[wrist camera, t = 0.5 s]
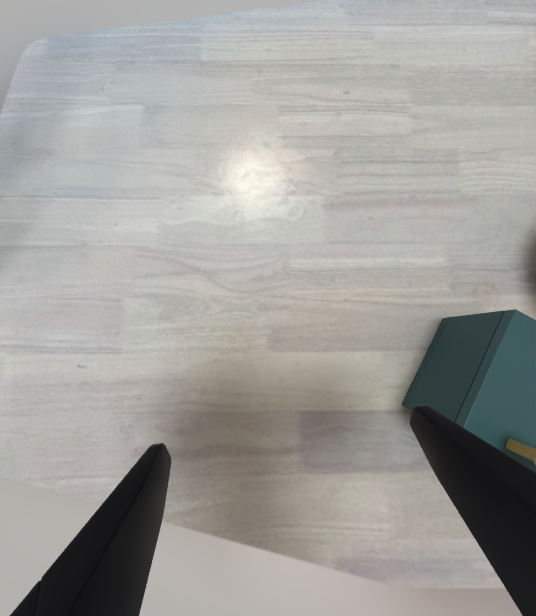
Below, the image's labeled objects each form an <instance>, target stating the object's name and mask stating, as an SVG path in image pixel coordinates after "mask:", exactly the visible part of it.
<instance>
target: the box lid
mask: <svg viewBox="0 0 536 616" xmlns="http://www.w3.org/2000/svg"><path fill="white" fill-rule="evenodd" d="M455 423H457V424H458V425H460V426H462V427H463V428H465V429H466V430H468V431H470V432H471V433H473V434H475V435H476V436H478V437H479V438H481V439H483V440H484V441H486V442H487V443H489V444H491V445H492V446H494V447H495V448H497V449H499V450H500V451H502V452H504V453H505V454H507V455H508V456H510V457H512V458H513V459H515V460H516V461H518V462H520V463H521V464H523V465H524V466H526V467H528V468H529V469H531V470H533V471H534V472H536V320H534V319H532V318H531V317H529V316H527V315H525V314H523V313H521V312H519V311H518V310H507V311H505V312H504V314H503V316H502V319H501V321H500V323H499V325H498V328H497V330H496V332H495V334H494V337H493V339H492V341H491V343H490V346H489V348H488V350H487V352H486V354H485V357H484V359H483V361H482V363H481V366H480V368H479V370H478V372H477V375H476V377H475V379H474V381H473V383H472V386H471V388H470V390H469V392H468V395H467V397H466V399H465V401H464V404H463V406H462V408H461V410H460V413H459V415H458V417H457V419H456V421H455Z"/></svg>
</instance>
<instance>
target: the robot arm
mask: <svg viewBox="0 0 536 616" xmlns="http://www.w3.org/2000/svg"><path fill="white" fill-rule="evenodd" d="M410 425H411V428H412V430H413V432H414V434H415V436H416V438H417V440H418V442H419V444H420V446H421V448H422V450H423V452H424V454H425V456H426V458H427V460H428V461H429V463H430V465H431V467H432V469H433V471H434V473H435V475H436V476H437V478H438V480H439V481H440V483H441V485H442V486H443V488H444V489H445V491H446V493H447V494H448V496H449V497H450V499H451V501H452V502H453V504H454V506H455V507H456V509H457V510H458V512H459V514H460V515H461V517H462V518H463V520H464V522H465V523H466V525H467V526H468V528H469V530H470V531H471V533H472V535H473V536H474V538H475V539H476V541H477V543H478V544H479V546H480V547H481V549H482V551H483V552H484V554H485V555H486V557H487V559H488V560H489V562H490V564H491V565H492V567H493V568H494V570H495V572H496V573H497V575H498V576H499V578H500V580H501V581H502V583H503V584H504V586H505V588H506V589H507V591H508V592H509V594H510V596H511V597H512V599H513V600H514V602H515V604H516V605H517V607H518V608H519V610H520V612H521V613H522V615H523V616H536V472H534V471H533V470H531V469H529V468H528V467H526V466H524V465H523V464H521V463H520V462H518V461H516V460H515V459H513V458H512V457H510V456H508V455H507V454H505V453H504V452H502V451H500V450H499V449H497V448H495V447H494V446H492V445H491V444H489V443H487V442H486V441H484V440H483V439H481V438H479V437H478V436H476V435H475V434H473V433H471V432H470V431H468V430H466V429H465V428H463V427H462V426H460V425H458V424H457V423H455V422H454V421H452V420H450V419H449V418H447V417H446V416H444V415H442V414H441V413H439V412H437V411H436V410H434V409H433V408H431V407H429V406H428V405H417V406H414V407H413V409H412V414H411V418H410ZM170 468H171V456H170V454H169V452H168V450H167V448H166V446H165V444H163V443H159V444H153V445H151V446H150V447H149V448H148V449H147V451H146V452H145V453H144V454H143V455H142V457H141V458H140V459H139V460H138V461H137V463H136V464H135V465H134V466H133V468H132V469H131V470H130V471H129V472H128V474H127V475H126V476H125V477H124V478H123V480H122V481H121V482H120V483H119V484H118V486H117V487H116V488H115V489H114V491H113V492H112V493H111V494H110V495H109V497H108V498H107V499H106V500H105V501H104V503H103V504H102V505H101V506H100V508H99V509H98V510H97V511H96V512H95V514H94V515H93V516H92V517H91V518H90V520H89V521H88V522H87V523H86V524H85V526H84V527H83V528H82V529H81V531H80V532H79V533H78V534H77V535H76V537H75V538H74V539H73V540H72V541H71V543H70V544H69V545H68V546H67V548H66V549H65V550H64V551H63V552H62V554H61V555H60V556H59V557H58V559H57V560H56V561H55V562H54V563H53V565H52V566H51V567H50V568H49V570H48V571H47V572H46V573H45V574H44V576H43V577H42V579H41V581H39V582H38V583H37V584H36V585H35V586H34V587H33V589H32V590H31V591H30V592H29V594H28V595H27V596H26V597H25V598H24V599H23V601H22V602H21V603H20V604H19V605H18V607H17V608H16V609H15V610H14V611H13V613H12V614H11V615H10V616H139V613H140V609H141V605H142V601H143V597H144V593H145V588H146V584H147V580H148V576H149V572H150V568H151V564H152V559H153V556H154V551H155V548H156V543H157V539H158V535H159V531H160V527H161V523H162V518H163V513H164V507H165V501H166V494H167V488H168V481H169V475H170Z"/></svg>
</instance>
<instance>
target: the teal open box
mask: <svg viewBox="0 0 536 616" xmlns="http://www.w3.org/2000/svg"><path fill="white" fill-rule="evenodd" d="M504 312H505V311H498V312H490V313H481V314H473V315H465V316H456V317H449V318H444V319H443V321H442V323H441V325H440V327H439V329H438V331H437V333H436V335H435V337H434V339H433V341H432V343H431V345H430V347H429V350H428V352H427V354H426V356H425V358H424V360H423V362H422V364H421V366H420V368H419V370H418V372H417V374H416V377H415V379H414V381H413V383H412V385H411V387H410V389H409V391H408V393H407V395H406V397H405V399H404V401H403V405H404V406H406V407H407V408H409V409H411V410H412V409H413V407H414V406H417V405H428V406H429V407H431V408H433V409H434V410H436V411H437V412H439V413H441V414H442V415H444V416H446V417H447V418H449V419H450V420H452V421H454V422H455V421H456V419H457V417H458V415H459V413H460V410H461V408H462V406H463V404H464V401H465V399H466V397H467V395H468V392H469V390H470V388H471V386H472V383H473V381H474V379H475V377H476V375H477V372H478V370H479V368H480V366H481V363H482V361H483V359H484V357H485V354H486V352H487V350H488V348H489V346H490V343H491V341H492V339H493V337H494V334H495V332H496V330H497V328H498V325H499V323H500V321H501V319H502V316H503V314H504Z"/></svg>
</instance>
